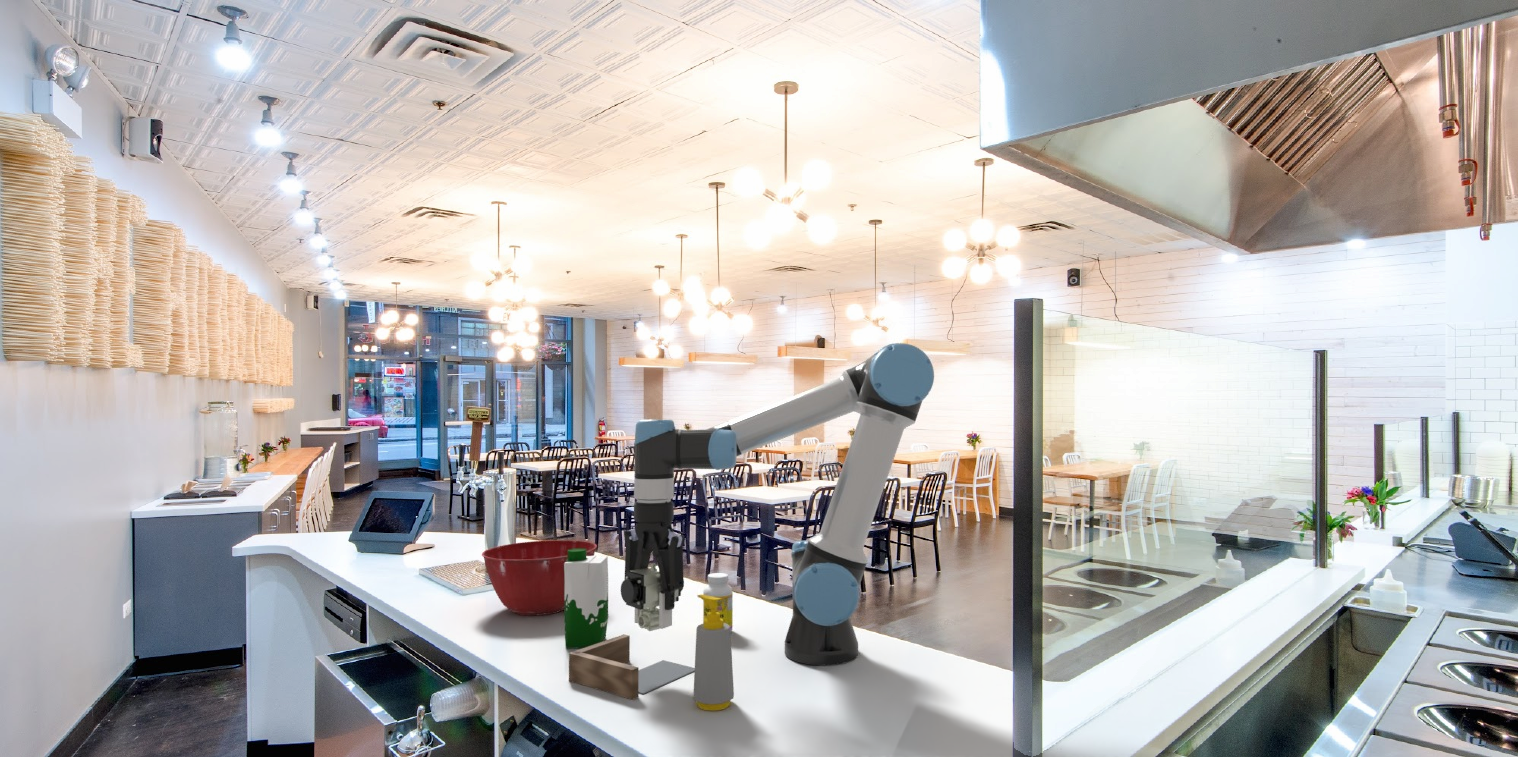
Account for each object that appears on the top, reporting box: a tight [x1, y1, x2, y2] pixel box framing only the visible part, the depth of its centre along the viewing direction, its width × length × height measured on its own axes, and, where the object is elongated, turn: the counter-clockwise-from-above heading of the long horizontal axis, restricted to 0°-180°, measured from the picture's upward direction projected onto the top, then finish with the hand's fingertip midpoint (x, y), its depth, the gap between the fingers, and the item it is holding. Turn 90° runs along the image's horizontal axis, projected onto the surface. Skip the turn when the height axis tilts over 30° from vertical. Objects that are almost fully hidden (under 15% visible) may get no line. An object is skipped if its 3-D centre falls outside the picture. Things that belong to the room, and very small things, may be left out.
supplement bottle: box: [702, 572, 734, 633], centre depth 164 cm, size 7×7×13 cm
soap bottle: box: [693, 594, 735, 712], centre depth 123 cm, size 7×7×18 cm
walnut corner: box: [568, 634, 640, 700], centre depth 136 cm, size 16×14×5 cm
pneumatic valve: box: [620, 563, 684, 632], centre depth 137 cm, size 6×12×12 cm, turn 135°
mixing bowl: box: [481, 539, 598, 616], centre depth 186 cm, size 28×28×15 cm
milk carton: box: [563, 548, 609, 649], centre depth 157 cm, size 9×9×20 cm
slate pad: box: [638, 659, 695, 695], centre depth 136 cm, size 9×15×1 cm, turn 145°
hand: (653, 623), depth 137 cm, fingers closed on pneumatic valve, 6 cm apart
